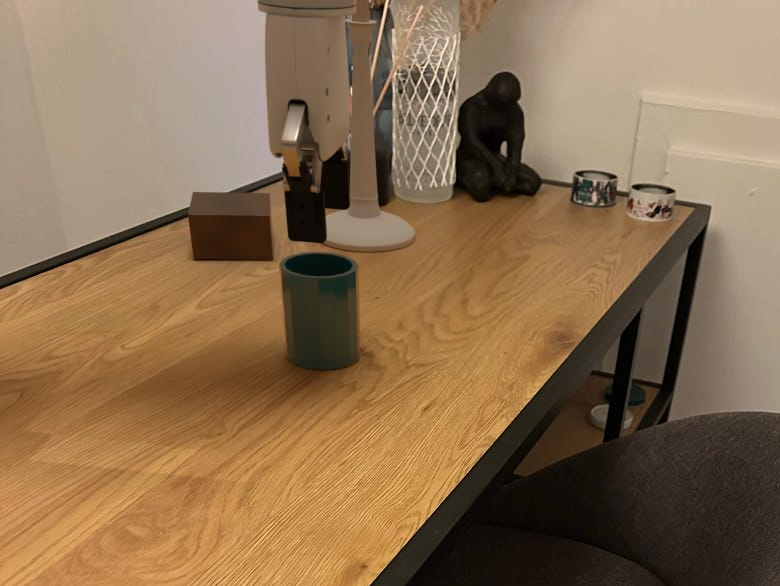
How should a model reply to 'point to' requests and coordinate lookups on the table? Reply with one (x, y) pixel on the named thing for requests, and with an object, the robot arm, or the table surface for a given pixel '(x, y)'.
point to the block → (231, 226)
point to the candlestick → (364, 162)
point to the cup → (320, 309)
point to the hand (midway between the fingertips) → (320, 223)
